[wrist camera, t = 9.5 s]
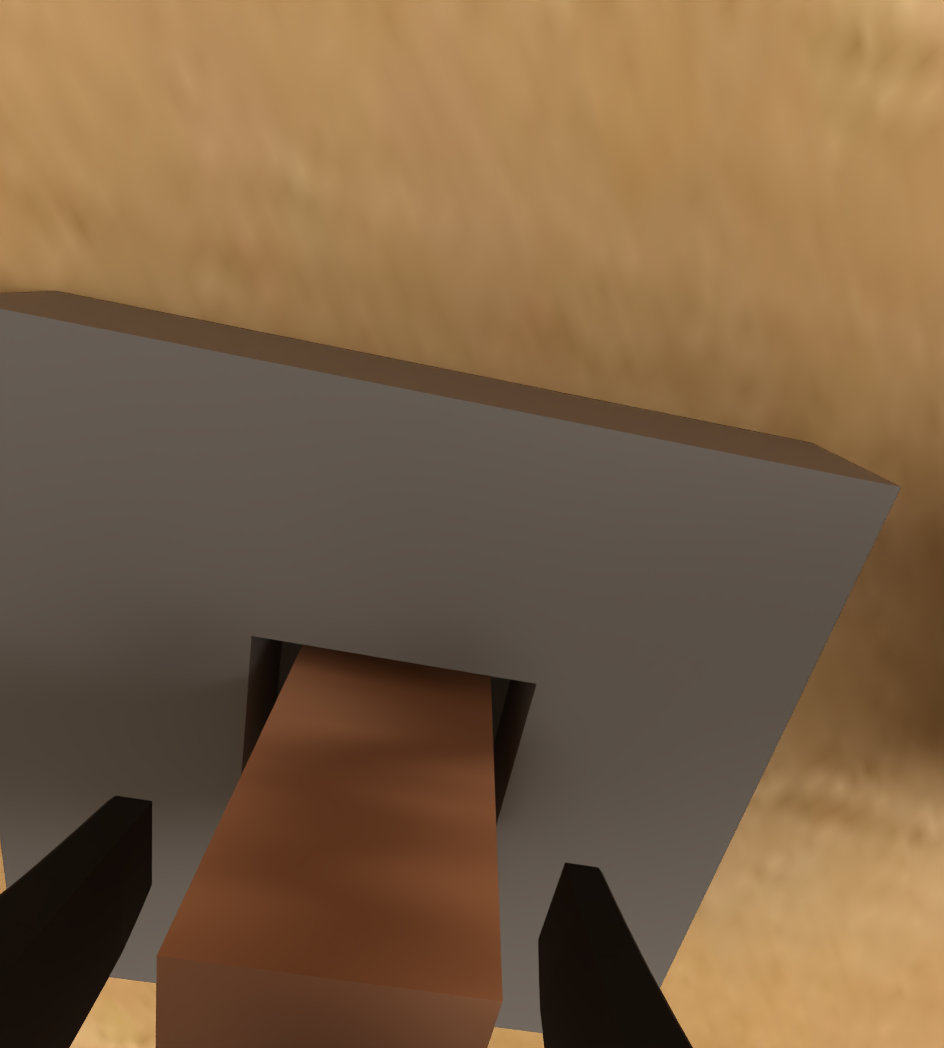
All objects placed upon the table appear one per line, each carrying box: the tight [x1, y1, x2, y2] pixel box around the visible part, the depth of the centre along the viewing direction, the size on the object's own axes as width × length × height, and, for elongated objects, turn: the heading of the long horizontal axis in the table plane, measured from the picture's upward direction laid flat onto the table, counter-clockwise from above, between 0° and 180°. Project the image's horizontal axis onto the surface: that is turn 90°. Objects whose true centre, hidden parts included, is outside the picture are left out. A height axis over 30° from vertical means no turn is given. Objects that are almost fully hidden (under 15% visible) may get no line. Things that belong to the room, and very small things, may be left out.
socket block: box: [0, 291, 901, 1033], centre depth 14 cm, size 16×16×3 cm
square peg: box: [156, 645, 503, 1048], centre depth 12 cm, size 4×4×8 cm
